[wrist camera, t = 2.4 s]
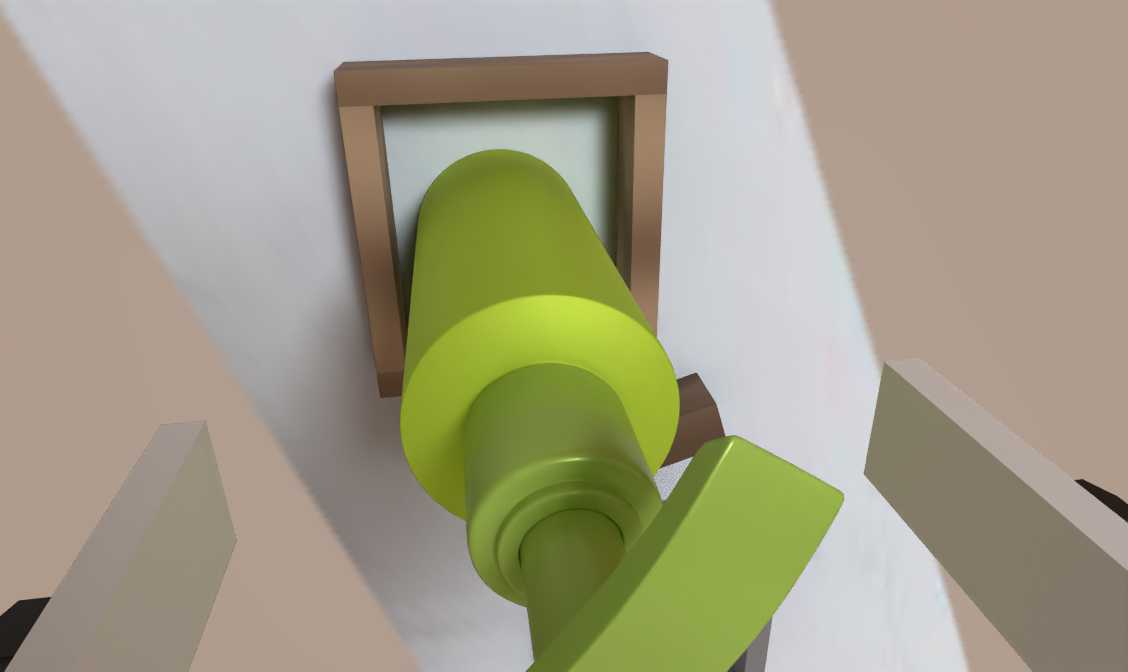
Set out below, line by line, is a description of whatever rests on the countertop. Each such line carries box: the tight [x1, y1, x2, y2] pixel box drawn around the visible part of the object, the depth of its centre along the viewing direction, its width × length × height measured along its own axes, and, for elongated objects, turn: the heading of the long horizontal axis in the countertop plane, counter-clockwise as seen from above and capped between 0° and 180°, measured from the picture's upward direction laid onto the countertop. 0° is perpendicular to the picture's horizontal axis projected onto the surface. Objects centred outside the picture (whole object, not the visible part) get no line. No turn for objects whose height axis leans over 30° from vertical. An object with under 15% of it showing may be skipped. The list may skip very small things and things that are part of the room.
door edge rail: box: [659, 373, 725, 469], centre depth 31 cm, size 2×10×2 cm, turn 108°
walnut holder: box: [334, 52, 668, 398], centre depth 26 cm, size 11×10×2 cm
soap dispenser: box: [400, 149, 844, 672], centre depth 18 cm, size 6×7×20 cm
